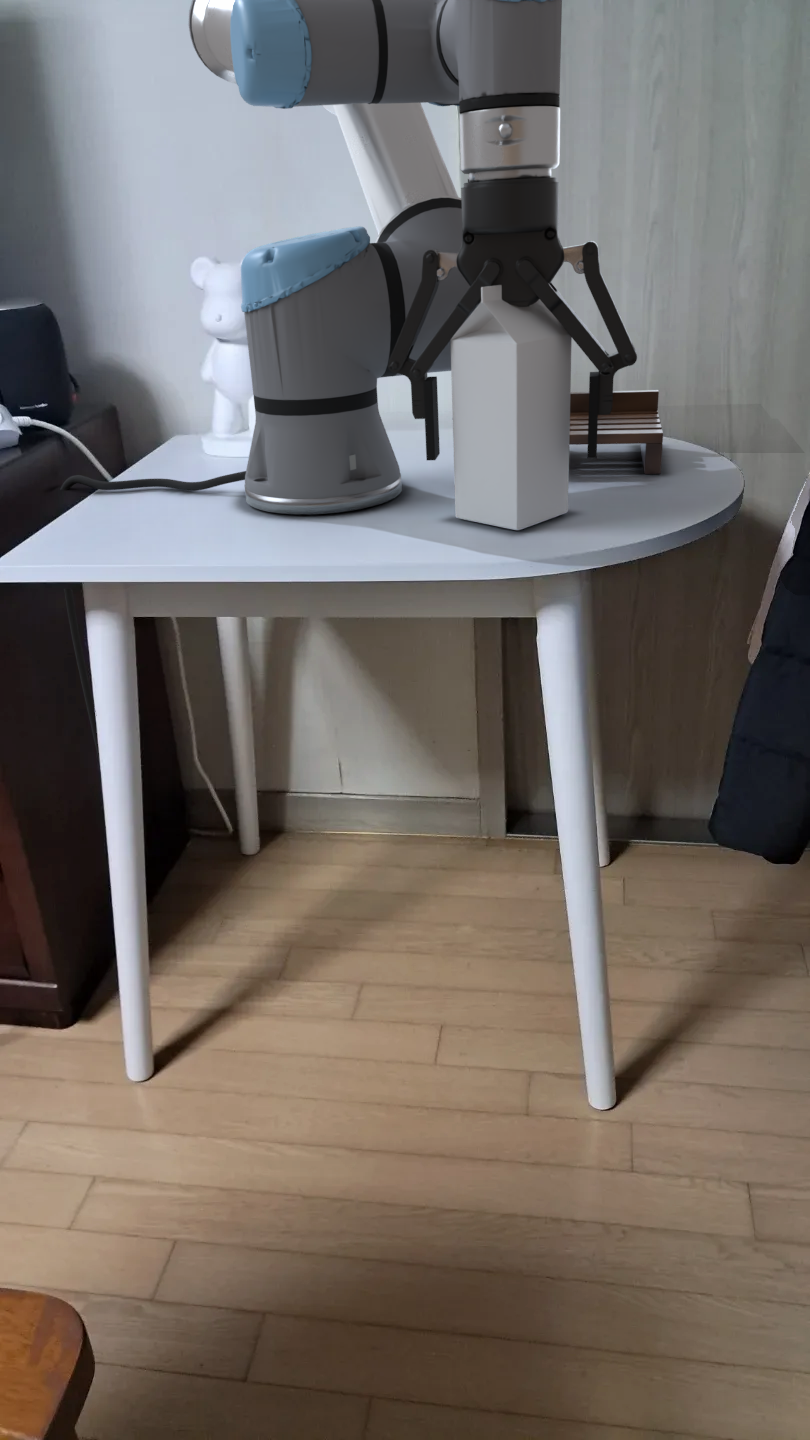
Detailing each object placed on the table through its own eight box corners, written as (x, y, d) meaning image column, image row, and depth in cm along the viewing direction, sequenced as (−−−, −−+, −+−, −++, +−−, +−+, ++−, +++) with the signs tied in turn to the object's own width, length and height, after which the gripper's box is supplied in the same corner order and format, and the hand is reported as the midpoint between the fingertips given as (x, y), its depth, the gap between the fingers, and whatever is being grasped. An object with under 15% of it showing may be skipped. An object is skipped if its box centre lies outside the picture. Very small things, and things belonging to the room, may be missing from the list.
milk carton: (568, 514, 91) (573, 280, 82) (517, 532, 86) (517, 287, 78) (506, 502, 95) (504, 279, 87) (454, 519, 91) (447, 286, 82)
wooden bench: (528, 475, 104) (529, 414, 102) (536, 448, 116) (536, 392, 113) (660, 474, 102) (664, 411, 99) (655, 446, 113) (658, 389, 111)
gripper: (340, 185, 78) (360, 467, 87) (680, 164, 73) (663, 463, 83) (361, 187, 84) (377, 448, 94) (674, 167, 80) (659, 444, 89)
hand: (511, 456), depth 88 cm, fingers open, 13 cm apart
